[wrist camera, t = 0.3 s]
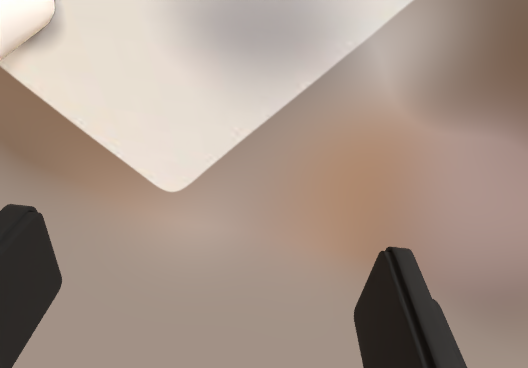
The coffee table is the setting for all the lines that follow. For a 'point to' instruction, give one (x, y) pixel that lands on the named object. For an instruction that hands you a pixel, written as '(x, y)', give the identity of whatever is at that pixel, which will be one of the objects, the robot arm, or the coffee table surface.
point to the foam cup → (22, 21)
